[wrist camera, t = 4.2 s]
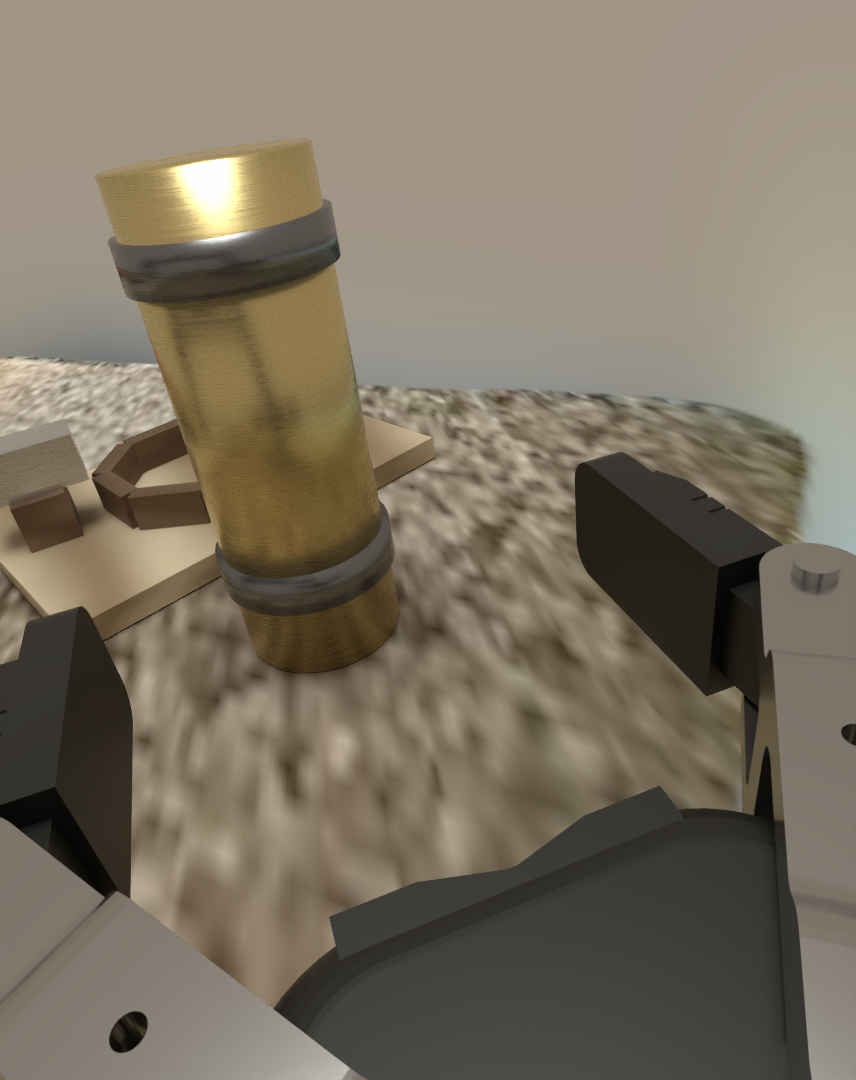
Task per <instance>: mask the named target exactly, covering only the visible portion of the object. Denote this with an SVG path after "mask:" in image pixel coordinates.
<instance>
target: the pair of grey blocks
mask: <svg viewBox="0 0 856 1080" xmlns="http://www.w3.org/2000/svg"><path fill="white" fill-rule="evenodd" d="M87 480H89V477H88V474H87V471H86V468H85V465H84V462H83V460H82V458H81V455H80V453H79V451H78V448H77V446H76V444H75V441H74V439H73V437H72V434H71V432H70V430H69V427H68V425H67V422H66V420H65V419H62V420H58V421H55V422H51V423H48V424H44V425H41V426H37V427H34V428H30V429H27V430H24V431H20V432H17V433H13V434H10V435H6V436H3V437H0V508H2V507H5V506H8V505H11V504H14V503H17V502H21V501H24V500H27V499H30V498H33V497H36V496H39V495H43V494H46V493H49V492H52V491H55V490H58V489H61V488H65V487H68V486H71V485H74V484H77V483H80V482H84V481H87Z"/></svg>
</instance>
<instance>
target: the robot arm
mask: <svg viewBox="0 0 856 1080" xmlns="http://www.w3.org/2000/svg"><path fill="white" fill-rule="evenodd" d="M575 500H576V532H577V547H578V552H579V555H580V558H581V561H582V563H583V566H584V568H585V569H586V571H587V573H588V574H589V575H590V576H591V578H592V579H593V580H594V581H595V582H596V583H597V584H598V585H599V586H600V587H601V588H602V589H603V590H604V591H605V592H606V593H607V594H608V595H609V596H610V597H611V598H612V599H613V600H614V601H615V602H616V603H617V604H618V606H619V607H620V608H621V609H622V610H623V611H624V612H625V613H626V614H627V615H628V616H629V617H630V618H631V619H632V620H633V621H634V622H635V623H636V624H637V625H638V626H639V627H640V628H641V629H642V630H643V631H644V632H645V633H646V634H647V635H648V636H649V638H650V639H651V640H652V641H653V642H654V643H655V644H656V645H657V646H658V647H659V648H660V649H661V650H662V651H663V652H664V653H665V654H666V655H667V656H668V657H669V658H670V659H671V660H672V661H673V662H674V663H675V664H676V665H677V666H678V667H679V669H680V670H681V671H682V672H683V673H684V674H685V675H686V676H687V677H688V678H689V679H690V680H691V681H692V682H693V683H694V684H695V685H696V686H697V687H698V688H699V689H700V690H701V691H702V692H703V693H704V694H705V695H706V696H709V695H712V694H714V693H717V692H720V691H722V690H725V689H728V688H730V687H733V686H736V687H737V688H738V689H739V690H740V691H741V692H742V693H743V695H742V702H741V761H742V813H740V812H735V811H730V810H720V809H708V808H700V809H680V810H678V809H677V807H676V806H675V805H674V804H673V802H672V801H671V800H670V798H669V797H668V796H667V795H666V793H665V792H664V791H663V789H662V788H661V787H660V786H658V787H656V788H653V789H651V790H648V791H646V792H643V793H640V794H638V795H635V796H633V797H630V798H628V799H625V800H623V801H620V802H618V803H615V804H613V805H610V806H608V807H605V808H603V809H600V810H598V811H595V812H593V813H590V814H588V815H585V816H583V817H582V818H581V819H579V820H578V821H577V822H575V823H574V824H573V825H571V826H570V827H569V828H567V829H566V830H564V831H563V832H562V833H560V834H559V835H558V836H556V837H555V838H554V839H552V840H551V841H550V842H548V843H547V844H546V845H544V846H543V847H541V848H540V849H539V850H537V851H536V852H535V853H533V854H532V855H531V856H529V857H528V858H527V859H525V860H524V861H523V862H521V863H520V864H518V865H516V866H515V867H512V868H510V869H506V870H500V871H493V872H486V873H479V874H472V875H465V876H458V877H451V878H443V879H436V880H429V881H422V882H416V883H414V884H411V885H408V886H406V887H403V888H401V889H398V890H396V891H393V892H391V893H388V894H386V895H383V896H381V897H378V898H376V899H373V900H371V901H368V902H366V903H363V904H361V905H358V906H356V907H353V908H350V909H348V910H345V911H343V912H340V913H338V914H335V915H333V916H330V917H329V918H330V922H331V927H332V931H333V935H334V940H335V944H336V947H334V948H333V949H332V950H330V951H329V952H328V953H326V954H325V955H323V956H322V957H321V958H320V959H319V960H317V961H316V962H315V963H314V964H313V965H312V966H311V967H310V968H309V969H308V970H306V971H305V972H304V973H303V974H302V975H301V976H300V977H299V978H298V980H297V981H296V982H295V983H294V984H293V985H292V986H291V987H290V988H289V990H288V991H287V992H286V993H285V994H284V995H283V997H282V998H281V999H280V1001H279V1002H278V1003H277V1005H276V1006H275V1008H274V1009H272V1008H271V1007H270V1006H268V1005H267V1004H266V1003H265V1002H263V1001H262V1000H261V999H259V998H258V997H257V996H255V995H254V994H253V993H252V992H250V991H249V990H248V989H246V988H245V987H244V986H242V985H241V984H240V983H239V982H237V981H236V980H235V979H233V978H232V977H231V976H229V975H228V974H227V973H226V972H224V971H223V970H222V969H220V968H219V967H218V966H216V965H215V964H214V963H213V962H211V961H210V960H209V959H207V958H206V957H205V956H203V955H202V954H201V953H200V952H198V951H197V950H196V949H194V948H193V947H192V946H190V945H189V944H188V943H187V942H185V941H184V940H183V939H181V938H180V937H179V936H177V935H176V934H175V933H174V932H172V931H171V930H170V929H168V928H167V927H166V926H164V925H163V924H162V923H161V922H159V921H158V920H157V919H155V918H154V917H153V916H151V915H150V914H149V913H148V912H146V911H145V910H144V909H142V908H141V907H140V906H138V905H137V904H136V903H135V902H133V901H132V900H131V899H130V883H131V814H132V746H133V718H132V711H131V706H130V702H129V698H128V694H127V691H126V689H125V686H124V684H123V681H122V679H121V677H120V675H119V673H118V671H117V669H116V667H115V665H114V663H113V661H112V659H111V656H110V654H109V652H108V650H107V648H106V646H105V644H104V642H103V640H102V638H101V636H100V634H99V632H98V630H97V628H96V626H95V623H94V621H93V619H92V617H91V616H90V614H89V612H88V611H87V610H86V609H85V608H84V607H83V606H79V607H76V608H73V609H69V610H66V611H62V612H59V613H55V614H52V615H48V616H45V617H41V618H38V619H34V620H31V621H29V622H28V623H27V624H26V627H25V631H24V636H23V640H22V644H21V649H20V653H19V658H18V660H15V661H12V662H8V663H5V664H2V665H0V1073H1V1074H2V1075H3V1077H4V1078H5V1079H6V1080H856V556H855V555H853V554H851V553H849V552H847V551H844V550H842V549H839V548H836V547H832V546H828V545H822V544H814V543H795V544H788V545H782V544H780V543H779V542H777V541H776V540H774V539H773V538H771V537H770V536H769V535H767V534H766V533H764V532H763V531H761V530H760V529H758V528H757V527H755V526H754V525H752V524H751V523H749V522H748V521H746V520H745V519H743V518H742V517H740V516H739V515H737V514H736V513H734V512H733V511H731V510H730V509H727V510H726V509H725V506H724V505H723V504H721V503H720V502H718V501H717V500H715V499H714V498H712V497H710V498H708V496H707V494H706V493H705V492H703V491H702V490H700V489H699V488H697V487H696V486H694V485H693V484H691V483H690V482H688V481H687V480H684V479H681V478H678V477H675V476H672V475H669V474H666V473H662V472H659V471H655V472H651V471H650V470H649V469H647V468H646V467H644V466H643V465H641V464H640V463H639V462H637V461H636V460H634V459H633V458H631V457H630V456H629V455H627V454H625V453H623V452H618V453H615V454H611V455H608V456H604V457H601V458H597V459H594V460H590V461H587V462H584V463H581V464H579V465H578V467H577V468H576V472H575Z"/></svg>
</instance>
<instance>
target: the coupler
mask: <svg viewBox="0 0 856 1080" xmlns="http://www.w3.org/2000/svg"><path fill="white" fill-rule="evenodd" d="M95 178H96V180H97V184H98V187H99V190H100V193H101V196H102V199H103V202H104V205H105V208H106V210H107V214H108V217H109V220H110V223H111V225H112V228H113V232H114V234H115V236H113V237H112V238H111V239H109V241H108V244H109V247H110V250H111V253H112V256H113V259H114V262H115V265H116V268H117V271H118V273H119V276H120V279H121V282H122V285H123V288H124V291H125V294H126V296H127V297H128V298H130V299H132V300H135V301H137V303H138V306H139V309H140V312H141V315H142V318H143V321H144V323H145V326H146V330H147V332H148V336H149V339H150V341H151V344H152V347H153V350H154V353H155V356H156V359H157V362H158V365H159V368H160V371H161V374H162V377H163V380H164V383H165V386H166V389H167V392H168V395H169V398H170V401H171V404H172V407H173V410H174V413H175V416H176V419H177V422H178V425H179V428H180V431H181V434H182V437H183V440H184V443H185V446H186V449H187V452H188V454H189V457H190V460H191V463H192V466H193V469H194V472H195V475H196V478H197V481H198V484H199V487H200V490H201V493H202V496H203V499H204V502H205V505H206V508H207V511H208V514H209V517H210V520H211V523H212V526H213V529H214V532H215V535H216V538H217V543H216V547H215V556H216V559H217V562H218V565H219V568H220V571H221V574H222V577H223V580H224V583H225V586H226V588H227V591H228V593H229V595H230V597H231V598H232V599H233V600H234V601H235V602H236V603H237V604H238V605H239V606H240V609H241V612H242V615H243V618H244V621H245V624H246V627H247V630H248V633H249V636H250V639H251V642H252V645H253V647H254V650H255V652H256V653H257V654H258V656H259V657H260V658H261V659H262V660H263V661H265V662H266V663H268V664H269V665H271V666H273V667H276V668H278V669H282V670H285V671H290V672H299V673H313V672H322V671H328V670H333V669H337V668H340V667H343V666H346V665H349V664H351V663H354V662H356V661H358V660H360V659H362V658H364V657H366V656H367V655H369V654H371V653H372V652H374V651H375V650H376V649H377V648H379V647H380V646H381V645H382V644H383V643H384V642H385V641H386V640H387V639H388V638H389V637H390V635H391V634H392V633H393V631H394V629H395V627H396V625H397V622H398V619H399V604H398V599H397V593H396V588H395V583H394V578H393V572H392V567H391V564H392V562H393V559H394V544H393V538H392V533H391V527H390V522H389V516H388V512H387V510H386V508H385V506H384V505H383V504H382V503H381V502H380V501H379V498H378V493H377V487H376V482H375V477H374V472H373V466H372V461H371V456H370V450H369V445H368V440H367V434H366V429H365V424H364V419H363V413H362V408H361V403H360V397H359V392H358V387H357V381H356V376H355V371H354V366H353V360H352V355H351V350H350V344H349V339H348V334H347V329H346V323H345V318H344V313H343V307H342V303H341V297H340V292H339V286H338V281H337V276H336V270H335V265H334V263H335V262H336V261H337V260H338V259H339V258H340V249H339V243H338V238H337V232H336V227H335V222H334V216H333V210H332V205H331V202H330V201H328V200H326V199H322V196H321V191H320V186H319V181H318V175H317V169H316V164H315V159H314V153H313V149H312V143H311V139H288V140H276V141H267V142H259V143H251V144H243V145H237V146H229V147H223V148H216V149H210V150H204V151H198V152H192V153H186V154H180V155H175V156H169V157H165V158H159V159H154V160H149V161H144V162H139V163H134V164H130V165H126V166H122V167H117V168H114V169H109V170H106V171H103V172H100V173H97V174H96V175H95Z"/></svg>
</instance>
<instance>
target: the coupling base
mask: <svg viewBox="0 0 856 1080" xmlns="http://www.w3.org/2000/svg"><path fill="white" fill-rule="evenodd" d="M363 419H364V424H365V429H366V434H367V440H368V445H369V450H370V456H371V461H372V466H373V472H374V477H375V482H376V487H377V489H378V488H380V487H382V486H384V485H386V484H388V483H389V482H391V481H393V480H395V479H397V478H398V477H400V476H402V475H404V474H406V473H407V472H409V471H411V470H413V469H415V468H417V467H418V466H420V465H422V464H424V463H426V462H427V461H429V460H431V459H433V458H435V454H434V447H433V440H432V437H429V436H426V435H423V434H420V433H417V432H414V431H411V430H407V429H404V428H401V427H398V426H395V425H392V424H389V423H386V422H383V421H380V420H377V419H374V418H371V417H368V416H365V415H363ZM123 442H124V444H117V445H116V446H115V447H114V449H113V450H112V451H111V452H110V453H109V454H108V456H107V457H106V458H105V459H104V460H103V461H102V463H101V464H100V465H99V466H98V467H97V468H94V469H92V470H90V471H87V474H88V477H89V480H87V481H84V482H80V483H77V484H74V485H71V486H68V487H65V488H61V489H58V490H55V491H52V492H49V493H46V494H43V495H39V496H36V497H33V498H30V499H27V500H24V501H21V502H17V503H14V504H11V505H8V506H5V507H2V508H0V570H1V571H2V572H3V573H4V574H5V575H6V577H7V578H8V579H9V580H10V581H11V582H12V583H13V584H14V586H15V587H16V588H17V589H18V590H19V591H20V592H21V593H22V595H23V596H24V597H25V598H26V599H27V600H28V601H29V602H30V604H31V605H32V606H33V607H34V608H35V609H36V610H37V611H38V612H39V614H40V615H41V616H42V617H45V616H48V615H52V614H55V613H59V612H62V611H66V610H69V609H73V608H76V607H79V606H83V607H84V608H85V609H86V610H87V611H88V612H89V614H90V616H91V617H92V619H93V621H94V623H95V626H96V628H97V630H98V632H99V634H100V636H101V638H102V640H105V639H107V638H109V637H110V636H112V635H114V634H116V633H118V632H119V631H121V630H123V629H125V628H127V627H129V626H130V625H132V624H134V623H136V622H138V621H139V620H141V619H143V618H145V617H147V616H148V615H150V614H152V613H154V612H156V611H158V610H159V609H161V608H163V607H165V606H167V605H168V604H170V603H172V602H174V601H176V600H177V599H179V598H181V597H183V596H185V595H186V594H188V593H190V592H192V591H194V590H196V589H197V588H199V587H201V586H203V585H205V584H206V583H208V582H210V581H212V580H214V579H215V578H217V577H219V576H221V575H222V574H221V571H220V568H219V565H218V562H217V559H216V556H215V547H216V543H217V538H216V535H215V532H214V529H213V526H212V523H211V520H210V517H209V514H208V511H207V508H206V505H205V502H204V499H203V496H202V493H201V490H200V487H199V484H198V481H197V478H196V475H195V472H194V469H193V466H192V463H191V460H190V457H189V454H188V452H187V449H186V446H185V443H184V440H183V437H182V434H181V431H180V428H179V425H178V422H177V419H175V420H173V421H170V422H168V423H165V424H163V425H160V426H158V427H155V428H153V429H150V430H148V431H146V432H143V433H141V434H138V435H136V436H133V437H131V438H128V439H126V440H123Z"/></svg>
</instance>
